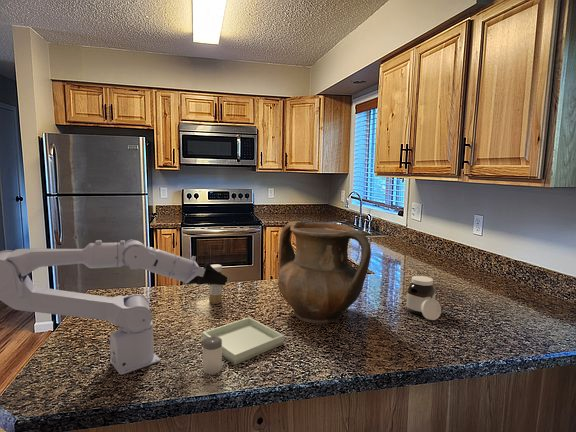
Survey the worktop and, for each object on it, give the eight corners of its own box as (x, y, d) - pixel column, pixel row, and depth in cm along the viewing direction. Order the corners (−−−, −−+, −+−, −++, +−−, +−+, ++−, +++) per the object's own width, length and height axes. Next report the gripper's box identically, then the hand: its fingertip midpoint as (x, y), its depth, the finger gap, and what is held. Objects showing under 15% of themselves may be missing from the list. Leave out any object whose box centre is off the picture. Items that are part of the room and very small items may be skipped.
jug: (257, 322, 111) (257, 227, 107) (288, 293, 137) (289, 216, 133) (362, 340, 100) (367, 236, 96) (374, 305, 126) (378, 222, 122)
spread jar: (416, 304, 128) (418, 273, 127) (448, 314, 120) (450, 280, 119) (399, 313, 120) (401, 280, 118) (432, 324, 112) (435, 288, 110)
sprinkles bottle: (210, 299, 129) (209, 263, 128) (222, 299, 130) (222, 263, 128) (208, 304, 125) (208, 267, 123) (221, 304, 125) (221, 267, 124)
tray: (235, 364, 87) (234, 355, 86) (202, 340, 99) (202, 332, 98) (283, 344, 98) (284, 335, 97) (249, 324, 109) (249, 317, 109)
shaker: (209, 376, 82) (208, 347, 81) (199, 368, 85) (199, 340, 84) (225, 369, 85) (225, 341, 84) (215, 361, 88) (215, 335, 87)
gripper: (185, 248, 84) (235, 266, 90) (169, 252, 96) (214, 267, 102) (175, 277, 82) (227, 293, 88) (160, 277, 94) (207, 291, 100)
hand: (220, 281), depth 95 cm, fingers open, 7 cm apart
